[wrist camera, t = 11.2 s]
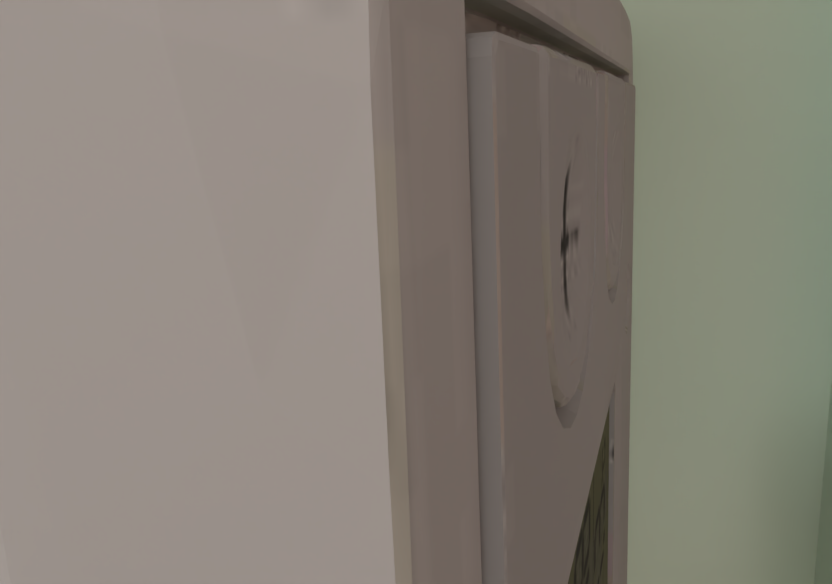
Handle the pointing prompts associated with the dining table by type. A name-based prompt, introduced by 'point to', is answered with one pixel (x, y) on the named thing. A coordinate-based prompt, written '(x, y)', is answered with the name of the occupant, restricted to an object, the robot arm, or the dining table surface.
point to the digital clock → (315, 291)
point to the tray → (731, 293)
